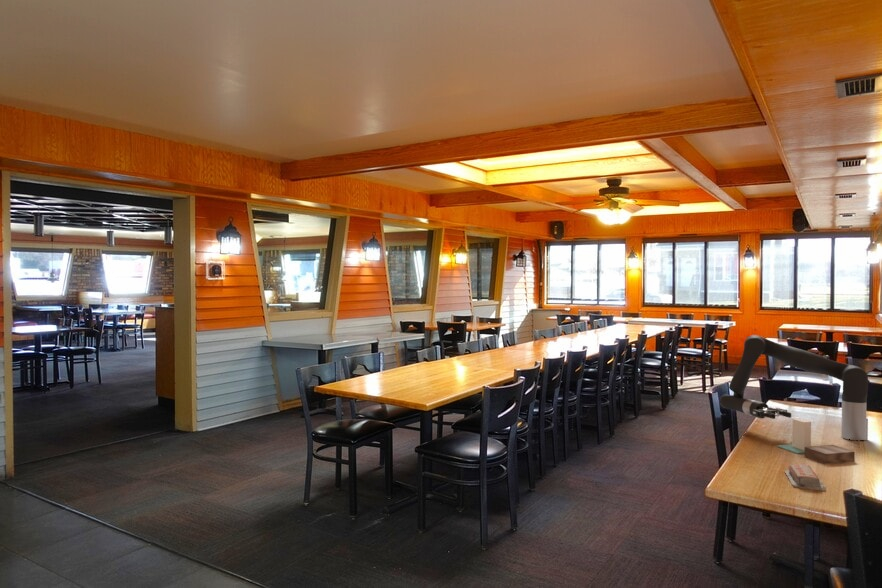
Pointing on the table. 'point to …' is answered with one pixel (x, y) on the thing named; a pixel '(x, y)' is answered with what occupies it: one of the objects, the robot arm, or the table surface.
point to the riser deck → (829, 454)
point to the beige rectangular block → (801, 433)
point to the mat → (792, 449)
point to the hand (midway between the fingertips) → (782, 416)
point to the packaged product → (804, 477)
